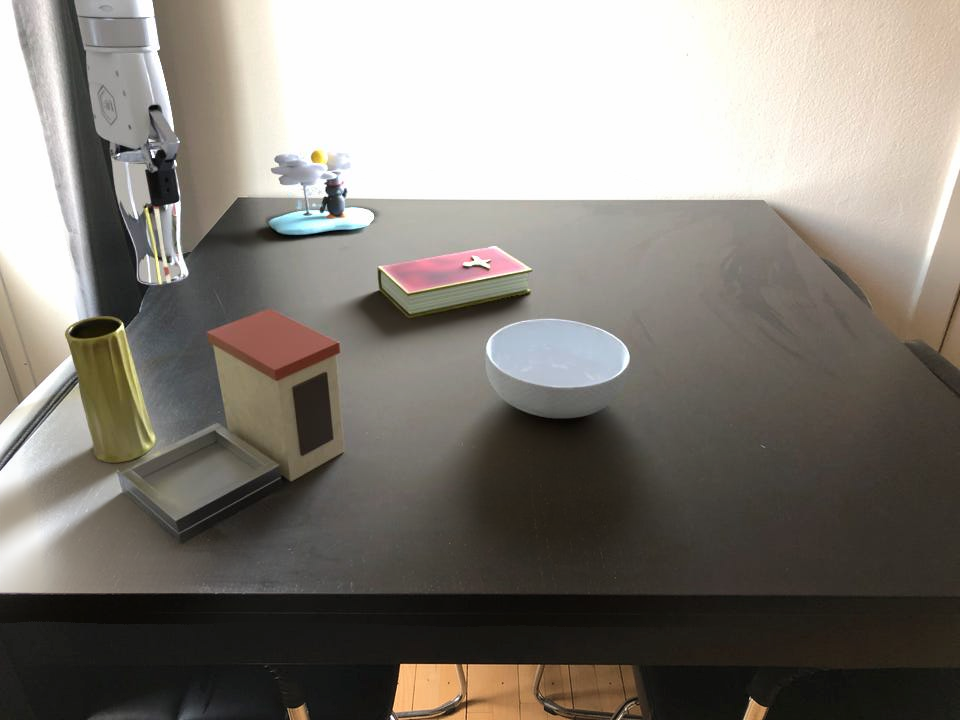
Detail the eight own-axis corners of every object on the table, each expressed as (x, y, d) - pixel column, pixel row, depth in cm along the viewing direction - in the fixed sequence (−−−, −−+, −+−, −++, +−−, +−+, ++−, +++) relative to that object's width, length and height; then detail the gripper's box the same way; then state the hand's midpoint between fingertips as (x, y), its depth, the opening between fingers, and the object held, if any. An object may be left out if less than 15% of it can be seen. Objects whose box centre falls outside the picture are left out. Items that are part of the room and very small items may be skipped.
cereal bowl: (592, 458, 79) (598, 402, 75) (458, 414, 86) (458, 361, 82) (643, 387, 92) (650, 337, 88) (523, 354, 99) (525, 306, 95)
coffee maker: (182, 545, 66) (153, 422, 60) (120, 490, 73) (88, 374, 67) (348, 451, 79) (339, 342, 73) (283, 411, 86) (269, 308, 79)
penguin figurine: (370, 215, 150) (365, 138, 143) (380, 232, 141) (375, 151, 134) (268, 223, 144) (258, 144, 137) (271, 241, 135) (261, 158, 128)
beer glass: (178, 262, 97) (158, 146, 90) (202, 277, 93) (184, 157, 86) (124, 275, 93) (99, 154, 86) (147, 291, 88) (123, 165, 82)
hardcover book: (378, 288, 117) (377, 264, 115) (493, 267, 126) (494, 243, 124) (408, 318, 108) (407, 291, 106) (530, 292, 117) (532, 267, 115)
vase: (131, 424, 83) (101, 309, 76) (168, 441, 80) (141, 323, 73) (81, 452, 78) (45, 332, 71) (119, 470, 76) (85, 347, 69)
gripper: (49, 30, 82) (84, 188, 91) (124, 43, 72) (156, 220, 81) (116, 28, 87) (143, 178, 96) (194, 40, 77) (217, 206, 86)
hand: (149, 196), depth 88 cm, fingers closed on beer glass, 7 cm apart
